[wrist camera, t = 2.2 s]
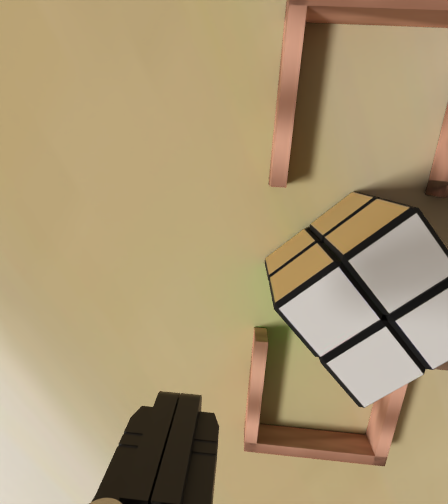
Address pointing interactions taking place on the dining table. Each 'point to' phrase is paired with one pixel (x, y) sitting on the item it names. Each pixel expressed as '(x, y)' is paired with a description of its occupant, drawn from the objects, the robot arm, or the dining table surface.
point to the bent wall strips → (440, 184)
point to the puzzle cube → (366, 294)
